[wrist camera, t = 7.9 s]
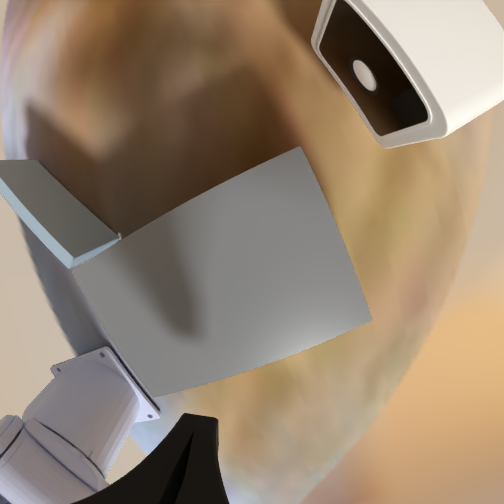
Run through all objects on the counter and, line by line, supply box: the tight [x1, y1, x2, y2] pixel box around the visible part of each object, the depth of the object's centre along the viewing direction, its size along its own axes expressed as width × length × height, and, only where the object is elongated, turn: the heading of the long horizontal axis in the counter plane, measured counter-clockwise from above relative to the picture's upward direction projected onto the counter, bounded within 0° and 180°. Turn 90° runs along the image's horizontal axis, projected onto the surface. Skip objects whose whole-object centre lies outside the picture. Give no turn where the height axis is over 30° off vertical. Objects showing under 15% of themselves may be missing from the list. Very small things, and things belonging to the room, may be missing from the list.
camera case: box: [72, 146, 372, 397], centre depth 15 cm, size 12×8×6 cm, turn 116°
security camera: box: [311, 0, 504, 149], centre depth 10 cm, size 6×7×10 cm
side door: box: [0, 160, 119, 269], centre depth 15 cm, size 10×2×5 cm, turn 52°
